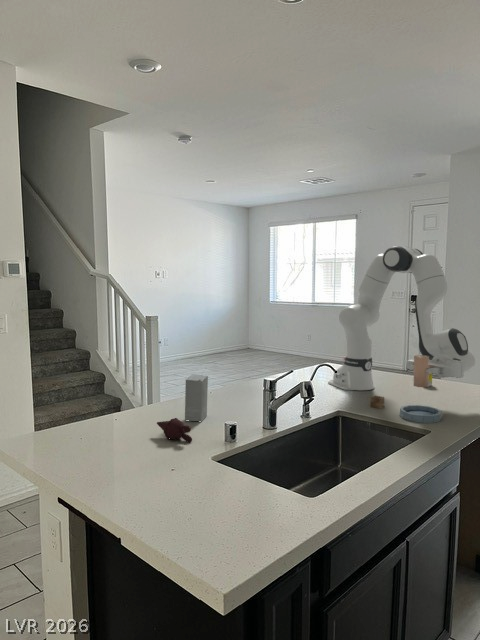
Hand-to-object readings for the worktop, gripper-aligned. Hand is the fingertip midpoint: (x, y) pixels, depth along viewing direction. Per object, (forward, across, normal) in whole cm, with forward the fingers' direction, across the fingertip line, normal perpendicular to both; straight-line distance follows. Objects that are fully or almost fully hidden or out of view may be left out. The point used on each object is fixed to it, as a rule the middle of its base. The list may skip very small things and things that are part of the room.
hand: (419, 369), depth 173 cm
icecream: (+87, -26, +17) cm, 92 cm away
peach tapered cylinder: (-1, 0, +6) cm, 6 cm away
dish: (0, +1, +17) cm, 17 cm away
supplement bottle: (-45, -31, +18) cm, 57 cm away
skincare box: (+71, -42, +17) cm, 84 cm away
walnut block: (+3, -17, +17) cm, 25 cm away
